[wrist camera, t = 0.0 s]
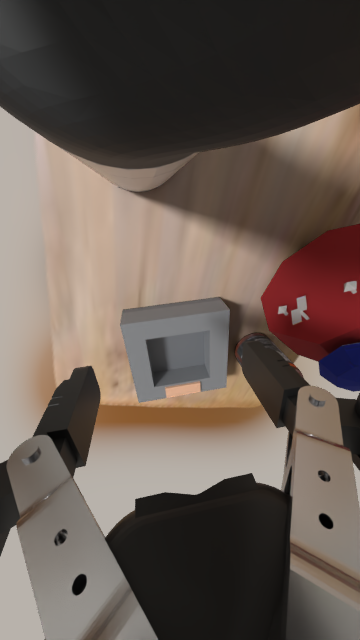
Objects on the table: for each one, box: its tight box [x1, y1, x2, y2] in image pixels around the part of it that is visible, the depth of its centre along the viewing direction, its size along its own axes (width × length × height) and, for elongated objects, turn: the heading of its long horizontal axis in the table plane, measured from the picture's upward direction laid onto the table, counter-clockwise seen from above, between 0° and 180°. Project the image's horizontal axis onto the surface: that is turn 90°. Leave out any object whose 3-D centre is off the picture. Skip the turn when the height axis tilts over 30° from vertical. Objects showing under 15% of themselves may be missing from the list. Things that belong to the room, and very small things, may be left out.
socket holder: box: [120, 297, 230, 403], centre depth 30 cm, size 13×13×4 cm
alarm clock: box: [261, 224, 360, 391], centre depth 20 cm, size 15×9×20 cm, turn 140°
